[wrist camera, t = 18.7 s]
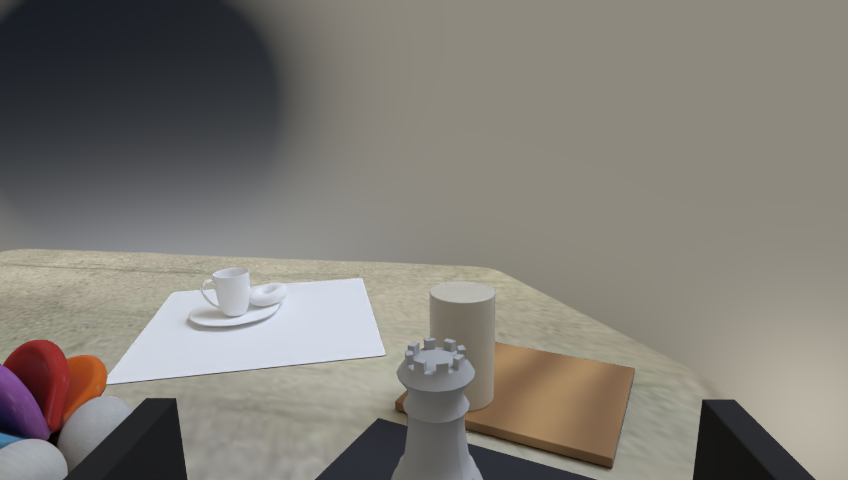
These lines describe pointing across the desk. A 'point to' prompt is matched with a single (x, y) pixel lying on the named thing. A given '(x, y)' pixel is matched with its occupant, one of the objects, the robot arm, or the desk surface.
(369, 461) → the dark mat
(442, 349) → the rook chess piece
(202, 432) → the desk surface
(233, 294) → the teacup and saucer
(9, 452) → the colorful ball cluster
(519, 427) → the brown square board
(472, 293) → the ivory piece
